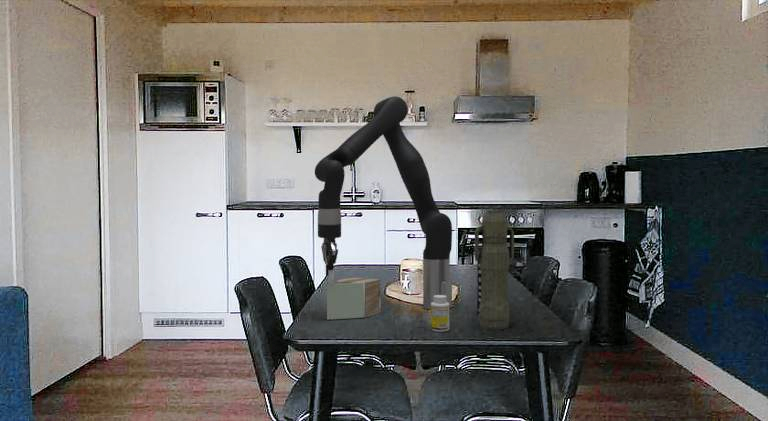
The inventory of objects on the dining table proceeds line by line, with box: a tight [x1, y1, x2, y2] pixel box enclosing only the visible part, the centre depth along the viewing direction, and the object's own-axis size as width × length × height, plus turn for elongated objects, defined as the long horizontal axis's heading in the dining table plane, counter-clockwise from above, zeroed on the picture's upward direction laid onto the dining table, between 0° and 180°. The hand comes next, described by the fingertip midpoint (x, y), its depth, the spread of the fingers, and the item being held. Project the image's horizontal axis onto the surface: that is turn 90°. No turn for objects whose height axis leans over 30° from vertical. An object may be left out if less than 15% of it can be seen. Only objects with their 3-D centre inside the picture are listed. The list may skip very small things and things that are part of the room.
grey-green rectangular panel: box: [326, 269, 366, 321], centre depth 212 cm, size 12×2×16 cm, turn 105°
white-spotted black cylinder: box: [476, 253, 481, 318], centre depth 216 cm, size 8×8×20 cm
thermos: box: [474, 210, 515, 330], centre depth 200 cm, size 9×12×35 cm
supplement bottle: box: [430, 295, 451, 333], centre depth 196 cm, size 6×6×10 cm
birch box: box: [334, 276, 382, 318], centre depth 221 cm, size 12×10×11 cm
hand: (329, 276), depth 213 cm, fingers closed
